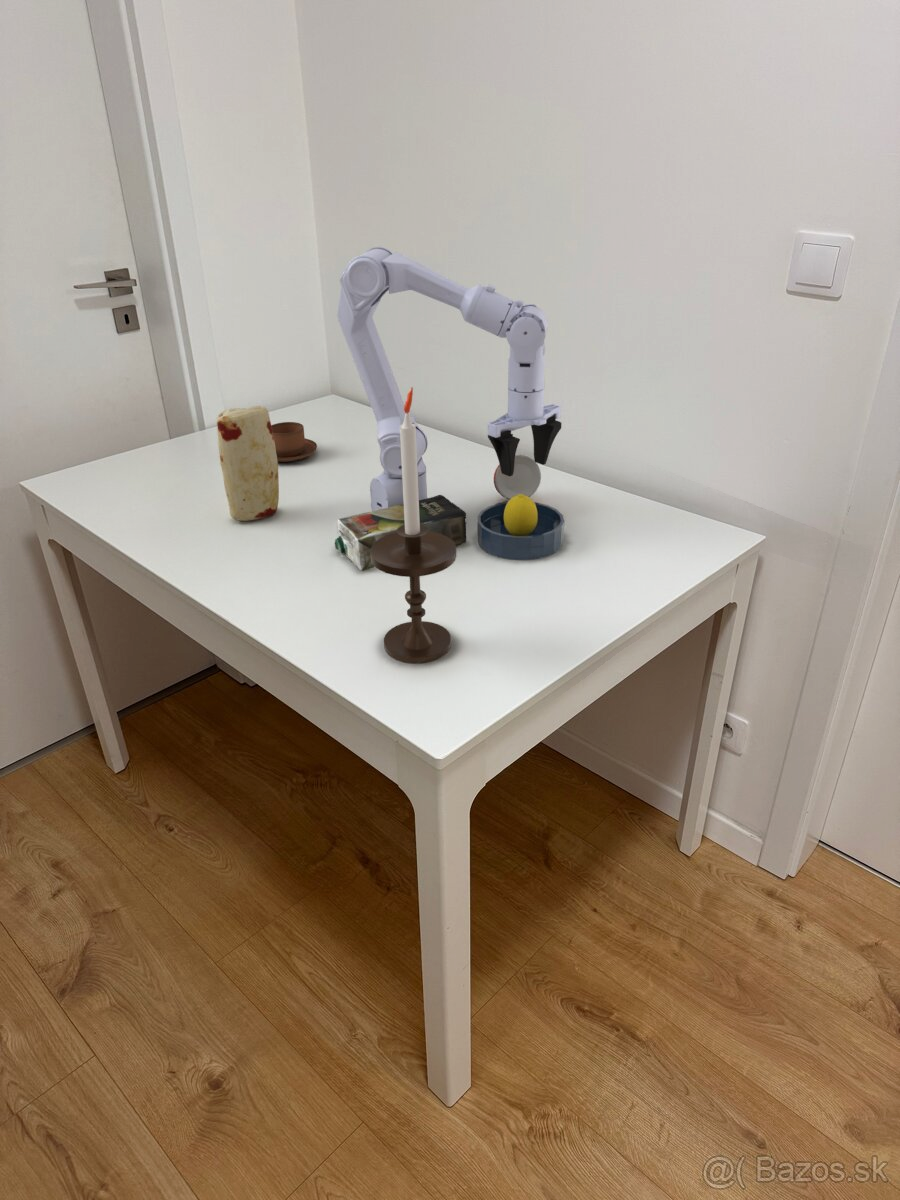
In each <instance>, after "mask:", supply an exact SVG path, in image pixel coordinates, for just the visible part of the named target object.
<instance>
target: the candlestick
mask: <svg viewBox="0 0 900 1200" xmlns="http://www.w3.org/2000/svg"><path fill="white" fill-rule="evenodd" d="M413 392H414V387H413V386H411V387H410V391H409V392H408V393H407V395H406V401H405V402H404V405H405V406H404V411H405V413H407V414H405V419H404V423H403V424H402V425H400V441H401V460H402V480H403V500H404V520H405V525H402V526H400V527H399V528H398V529H397V533H392V534H389V535H386V536H384V537H382V538H380V539H379V540H377V541H376V542H375V543H374V544H373V545H372V547H371V550H370V555H371V561H372V564H373V565H374V568H375V569H376V570H379V571H381V572H383V573H385V574H388V575H390V576H391V575H392V576H396V577H397V576H398V577H407V578H408V579H409V590H407V591H405V594H404V599H405V601H406V603H407V604H408V605H409V608H408V609H407V610H406V615H407V617H409V618H411V619H410V621H408V622H407V621H406V622H403V623H400V624H397V625H396V626H394V627H391V629H389V630H388V631H387V632H386V634H385V635H384V637H383V648H384V651H385V653H386V654H387V656H388V657H390V658H391V659H393V660H395V661H398V662H401V663H405V664H426V663H431V662H434V661H437V660H439V659H441V658H443V657H444V656H446V654H448V653H449V652H450V650H451V647H452V635H451V633H450V632H449V630H448V629H447V628H446V627H444V626H443V625H441V624H438V623H436V622H431V621H426V620H425V621H423V619H422V618H423V617H425V615H426V609H425V608H424V607H423V604H424V603H425V601H426V600H427V593H426V592H425V591H424V590H422V589H421V577H425V576H430V575H434V574H437V573H440V572H442V571H444V570H447V569H448V568H450V567H451V566H452V565H453V564H454V563H455V561H456V559H457V546H456V545H455V543H454V542H453V541H452V540H451V539H450V538H448V537H447V536H445V535H442V534H440V533H436V532H431V531H428V528H427V527H426V526H425V525H422V524H420V520H419V495H418V470H417V445H416V425H414V424H412V422H411V419H410V414H408V413H411V412H410V411H411V407H412V402H413V394H414V393H413Z"/></svg>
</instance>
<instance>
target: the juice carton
mask: <svg viewBox="0 0 900 1200" xmlns="http://www.w3.org/2000/svg"><path fill="white" fill-rule="evenodd" d="M466 519H467V513H466V511H465V510H464V509H462V508H460V506H458V505H457V504H455V503H454V502H452V501H451V500H450V499H448V498H447V497H446V496H444V495H443V494H437V495H435V496H431V497H427V499H423V500H419V520H420V524H422V525H425V526H426V527H427V528H428V531H431V532H436V533H440V534H442V535H445V536H447V537H448V538H450V539H451V540H452V541H453V542H454V543H455V545H456V547H459V546H462V545H464V544H466V543H467V520H466ZM402 525H405V520H404V504H400V505H396V506H393V507H389V508H385V509H379V510H376V511H372V510H371V511H367V512H363V513H362V512H361V513H359V514H354V515H350V516H346V517H341V518H338V519H337V533H338V534H337V535H338V537H337V538H335V539H334V547H335V550H338V551H339V552H340V553H341V554H343V555H345V556H346V557H347V558H348V559H349V560H350V561H351V562H352V563H354V565H355V566H356V567H357V568H358V569H359V571H366V570H369V569H373V568H375V566H374V565H373V564H372V561H371V555H370V550H371V547H372V545H373V544H374V543H375V542H376V541H377V540H379V539H380V538H382V537H384V536H386V535H389V534H392V533H397V529H398V528H399V527H400V526H402Z"/></svg>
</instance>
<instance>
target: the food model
mask: <svg viewBox="0 0 900 1200" xmlns="http://www.w3.org/2000/svg"><path fill="white" fill-rule="evenodd" d="M271 425H272V422H271V418H270V414H269V410H268V409H267V407H266V406H262V405H256V406H250V407H236V408H229V409H226V410H223V411H221V412H220V413H219V414H218V415H217V417H216V430H217V444H218V452H219V453H218V454H219V462H220V466H221V472H222V478H223V485H224V491H225V495H226V499H227V503H228V507H229V508H228V509H229V510H228V511H229V516H230V517H231V519H234V520H237V521H241V522H242V521H243V522H245V521H254V520H261V519H263V518H269V517H272V516H274V515H275V514H276V513H277V510H278V508H279V499H280V497H279V496H280V484H279V462H278V461H277V455H276V448H275V442H274V436H273V431H272V427H271Z"/></svg>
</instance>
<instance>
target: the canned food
mask: <svg viewBox="0 0 900 1200" xmlns="http://www.w3.org/2000/svg"><path fill="white" fill-rule="evenodd" d="M541 480H542V473H541V468H540V467H539V465H538V463H537V462H535V460H534V458H531V457H530V456H527V455H524V454H515V463H514V473H513V476H507V475H504V474H502V472H501V468H500V464H498V465H497V467H496V468H495V471H494V474H493V486H494V488H495V490H496V492H497V493H498V494H499V495H500V496H501V497H503V498H505V499H507V500H508V501H509V500H510V499H511V498H513V497H514V496H517V495H519V494H523V495H525V496H528V497H529V498H531V497H532V496H533V495H534V494H535V493H536V492H537V491H538V489H539V487H540V485H541V482H542V481H541Z"/></svg>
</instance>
